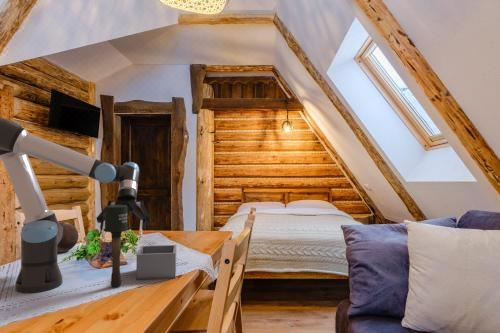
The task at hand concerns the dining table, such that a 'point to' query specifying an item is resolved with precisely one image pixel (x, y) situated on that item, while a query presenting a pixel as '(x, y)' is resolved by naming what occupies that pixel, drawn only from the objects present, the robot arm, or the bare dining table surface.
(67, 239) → the wooden sphere
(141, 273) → the bin
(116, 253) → the stick grenade
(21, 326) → the dining table surface
